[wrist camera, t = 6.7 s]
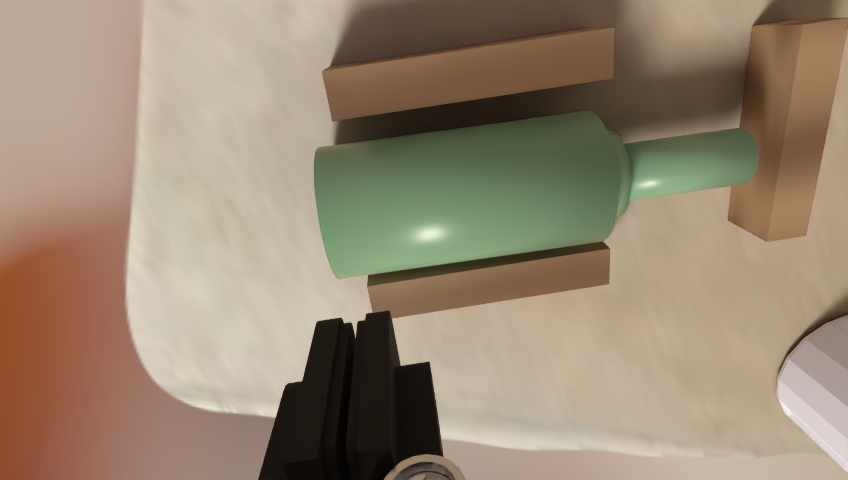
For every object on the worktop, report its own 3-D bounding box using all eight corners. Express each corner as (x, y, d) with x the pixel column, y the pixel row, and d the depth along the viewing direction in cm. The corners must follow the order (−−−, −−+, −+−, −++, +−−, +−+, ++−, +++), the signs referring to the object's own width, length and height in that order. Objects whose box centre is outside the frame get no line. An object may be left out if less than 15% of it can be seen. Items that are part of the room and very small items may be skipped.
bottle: (306, 168, 18) (803, 100, 18) (324, 134, 23) (707, 81, 24) (337, 304, 20) (773, 241, 21) (347, 245, 26) (693, 196, 26)
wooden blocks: (329, 66, 22) (321, 71, 19) (797, -4, 22) (855, -9, 20) (375, 291, 27) (374, 321, 24) (760, 231, 27) (802, 253, 24)
